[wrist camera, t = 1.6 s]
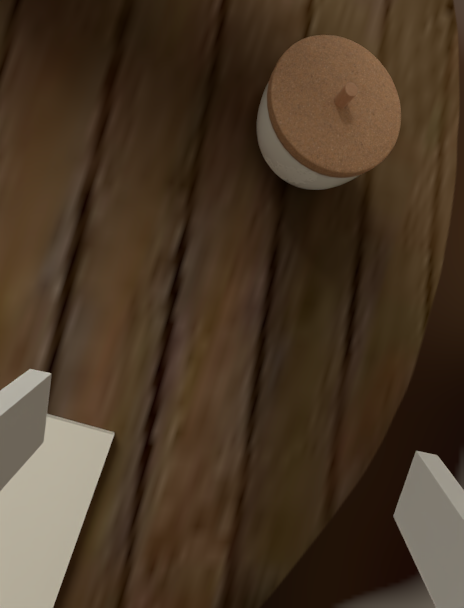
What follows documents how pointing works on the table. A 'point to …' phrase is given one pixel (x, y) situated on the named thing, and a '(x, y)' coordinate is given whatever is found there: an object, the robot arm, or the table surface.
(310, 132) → the lidded jar
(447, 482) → the robot arm
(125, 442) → the table surface
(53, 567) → the placemat
